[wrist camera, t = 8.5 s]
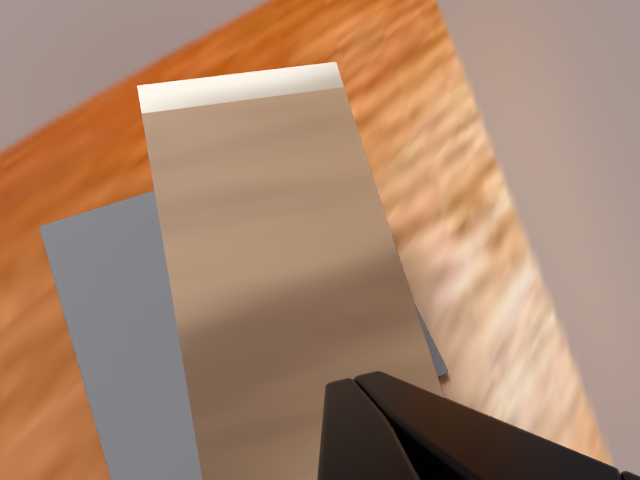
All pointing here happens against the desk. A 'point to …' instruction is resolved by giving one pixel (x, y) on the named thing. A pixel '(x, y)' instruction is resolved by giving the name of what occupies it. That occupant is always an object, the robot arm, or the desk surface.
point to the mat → (131, 337)
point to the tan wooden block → (274, 262)
